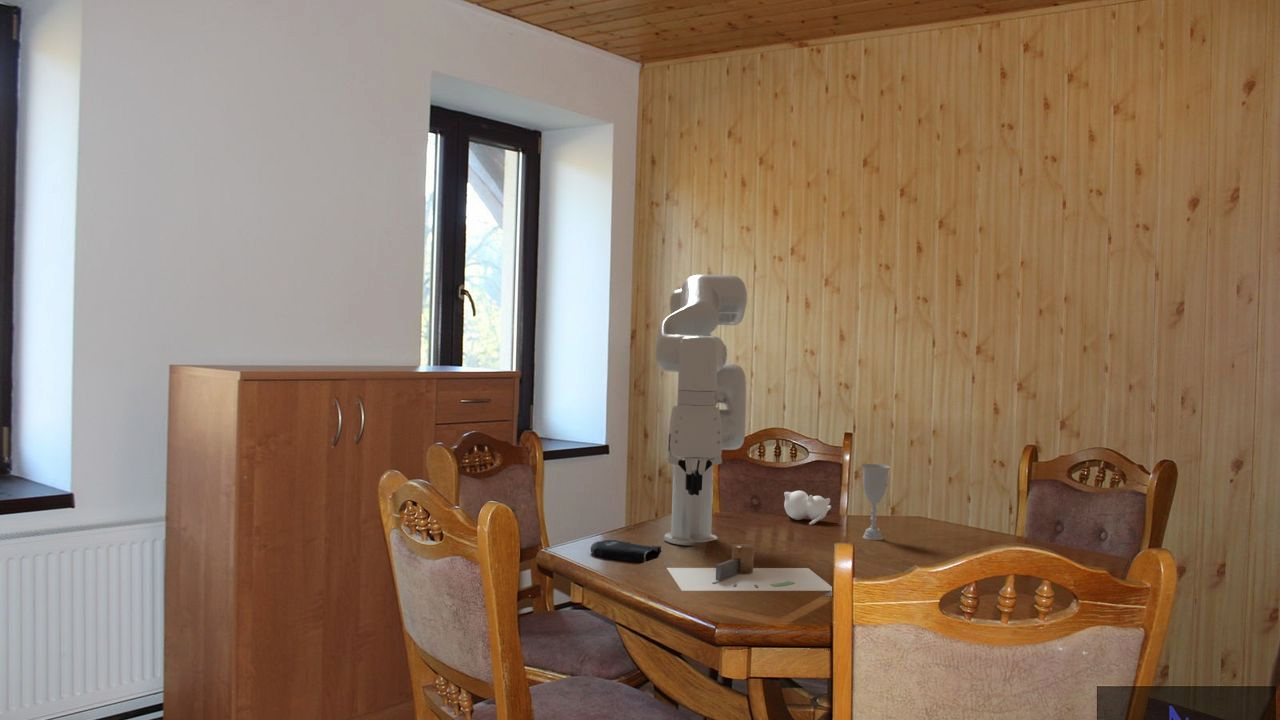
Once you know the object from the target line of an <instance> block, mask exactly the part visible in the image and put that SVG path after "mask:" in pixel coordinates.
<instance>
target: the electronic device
mask: <svg viewBox="0 0 1280 720" xmlns="http://www.w3.org/2000/svg"><path fill="white" fill-rule="evenodd" d="M590 552H591V554H592V555H593V556H595V557H598V558H603V559H609V560H615V559H616V560H615V561H624V562H625V561H627V562H636V563H647V562H650V561H652V560H653V559H658V558H659V556H660V555H661V553H662V546H661V545H660V544H659V545H656V546H655V545H651V546H649V545H644V544H636V543H631V542H628V541H622V540H617V539H606V540H605V539H603V540H600V541H599V540H598V541H596V542H594V543H592V544H591V546H590ZM646 557H647V558H646ZM651 557H652V558H651Z"/></svg>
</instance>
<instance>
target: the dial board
mask: <svg viewBox="0 0 1280 720" xmlns="http://www.w3.org/2000/svg"><path fill="white" fill-rule="evenodd" d="M666 569H667V571H668V573H669V574H670V575H671V577H672V578H673V580H674V581H675V583H676V585H677V586H678V587H679V589H680V590H681V592H771V591H772V592H813V591H814V592H826V593H824V594H823V595H820V596H819V597H820V598H827V596H828V598H833V597H832V587H833V586H832V585H830V584H829V583H828V582H827V581H825V579H823V578H822V577H820V576H819V575H818V574H817V573H815V572H814V571H813V570H811V569H810V568H809V567H802V568H801V567H795V568H794V567H771V568H770V567H753V572H752V573H738V574H736V575H733V576H731V577H729V578H726V579H724V580H721V581H718V580H716V567H666ZM827 591H828V592H827ZM825 596H826V597H825ZM830 596H831V597H830Z"/></svg>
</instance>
